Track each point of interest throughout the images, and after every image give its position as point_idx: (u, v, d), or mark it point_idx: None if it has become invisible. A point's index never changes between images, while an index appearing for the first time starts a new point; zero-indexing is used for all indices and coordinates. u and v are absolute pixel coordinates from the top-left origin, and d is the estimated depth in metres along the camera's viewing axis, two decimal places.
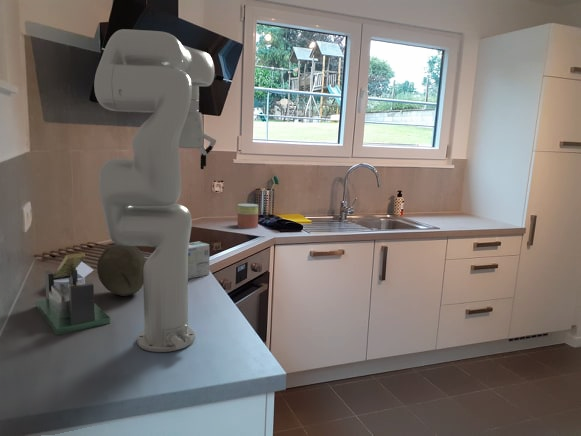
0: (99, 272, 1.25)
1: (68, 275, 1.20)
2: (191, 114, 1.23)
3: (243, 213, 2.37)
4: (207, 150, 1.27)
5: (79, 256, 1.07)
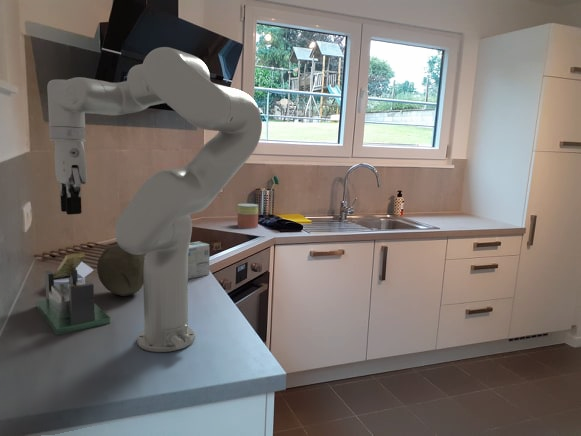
0: (99, 272, 1.25)
1: (68, 275, 1.20)
2: None
3: (243, 213, 2.37)
4: None
5: (79, 256, 1.07)
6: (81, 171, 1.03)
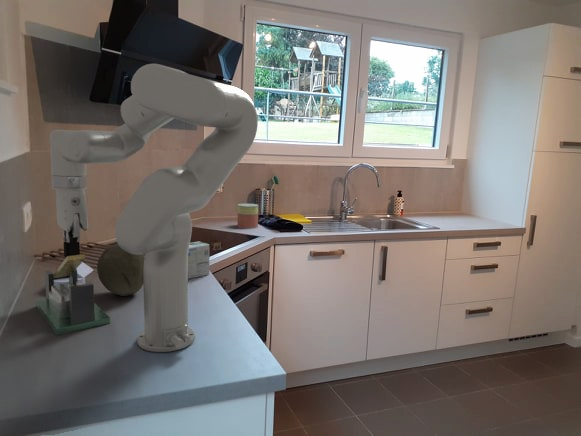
0: (99, 272, 1.25)
1: (68, 275, 1.20)
2: None
3: (243, 213, 2.37)
4: None
5: (79, 257, 1.07)
6: (82, 219, 1.04)
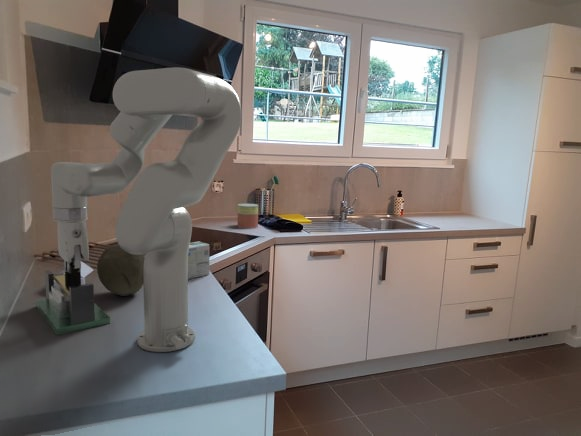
0: (99, 272, 1.25)
1: None
2: None
3: (243, 213, 2.37)
4: None
5: None
6: (83, 251, 1.06)
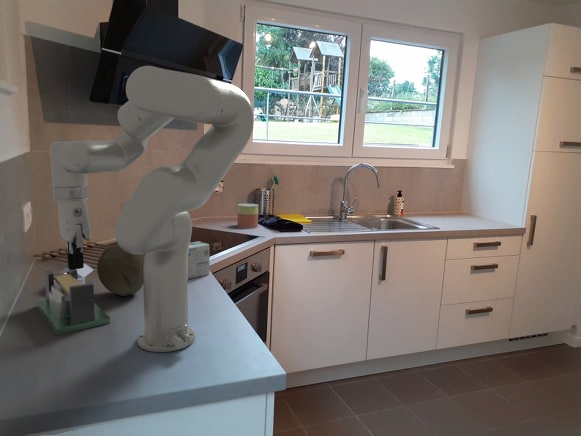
0: (99, 272, 1.25)
1: None
2: None
3: (243, 213, 2.37)
4: None
5: None
6: (85, 230, 1.05)
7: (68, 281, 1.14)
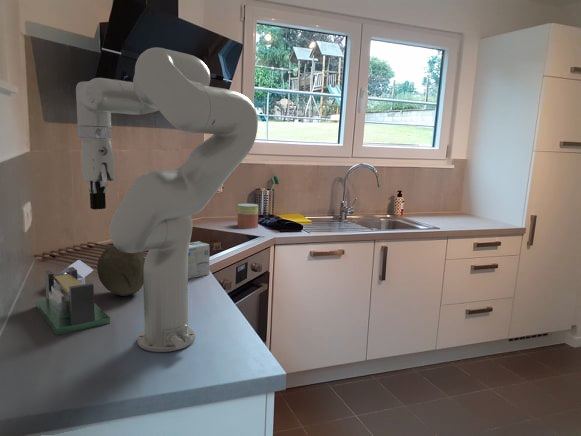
0: (99, 272, 1.25)
1: None
2: None
3: (243, 213, 2.37)
4: None
5: None
6: (109, 169, 1.08)
7: (68, 281, 1.14)
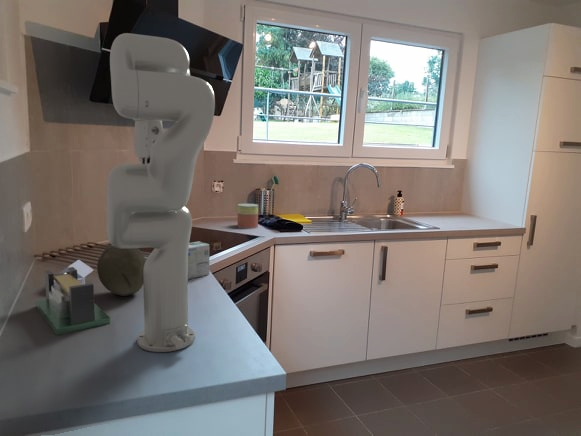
0: (99, 272, 1.25)
1: None
2: None
3: (243, 213, 2.37)
4: None
5: None
6: None
7: (68, 281, 1.14)
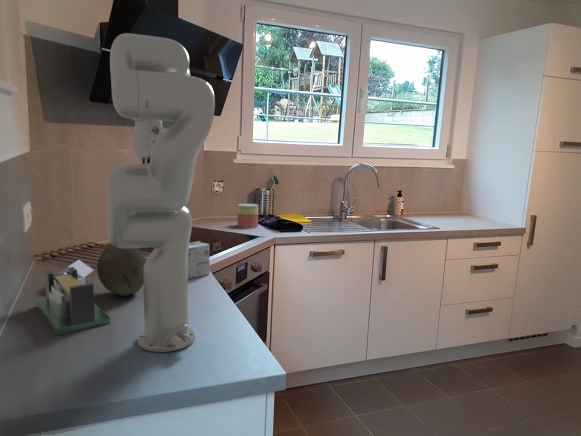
0: (99, 272, 1.25)
1: None
2: None
3: (243, 213, 2.37)
4: None
5: None
6: None
7: (68, 281, 1.14)
